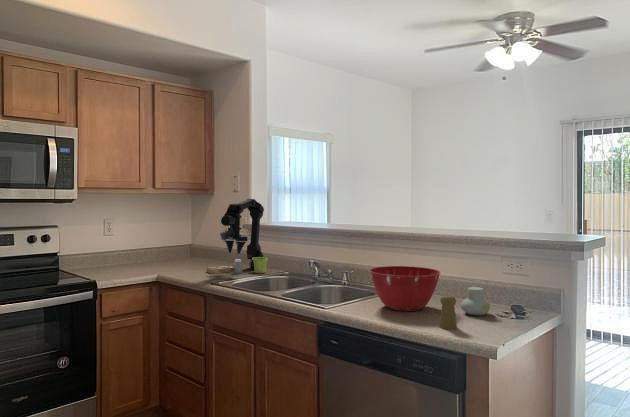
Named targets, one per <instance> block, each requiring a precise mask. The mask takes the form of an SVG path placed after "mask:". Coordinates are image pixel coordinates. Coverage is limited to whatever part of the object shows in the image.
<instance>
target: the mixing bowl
mask: <svg viewBox="0 0 630 417" xmlns="http://www.w3.org/2000/svg"><path fill="white" fill-rule="evenodd" d="M369 272H370V275H371V280H372V283H373V286H374V289H375V291H376V293H377V296H378V297H379V300H380V301H381V302H382V303H383V305H385V307H387V308H388V309H389V310H393V311H394V310H395V311H401V312H414V311H419V310H421V309H422V308H424V307H425V306H427V305H428V303H429V302H430V300H431V298H432V297H433V296H434V293H435V290H436V288H437V285H438V281H439V277H440V275H441V270H437V269H435V268H430V267H429V268H428V267H422V266H409V265H406V266H405V265H389V266H388V265H387V266H377V267H376V266H375V267H372V268H370V269H369Z"/></svg>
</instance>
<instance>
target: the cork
mask: <svg viewBox="0 0 630 417" xmlns="http://www.w3.org/2000/svg"><path fill="white" fill-rule="evenodd" d="M456 303H457V298H456V296H453V295H447V294H446V295H441V297H440V304H441V311H440V318H439V326H438V327H439V328H441V329H442V330H443V329H444V330H456V329H458V325H457V324H458V323H457V317H456V309H455V305H456Z"/></svg>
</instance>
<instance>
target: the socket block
mask: <svg viewBox="0 0 630 417" xmlns="http://www.w3.org/2000/svg"><path fill="white" fill-rule="evenodd" d="M233 272H234V266H232V265H224V266H223V265H222V266H207V267H206V273H208V274H211V275H216V274H217V275H219V274H229V273H233Z"/></svg>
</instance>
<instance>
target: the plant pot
mask: <svg viewBox="0 0 630 417" xmlns="http://www.w3.org/2000/svg"><path fill="white" fill-rule="evenodd" d="M252 259H253V262H254V273H256V274H265V273H266V272H267V265H268V260H269V258H268V257H265V256H264V257H255V258H252Z"/></svg>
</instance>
